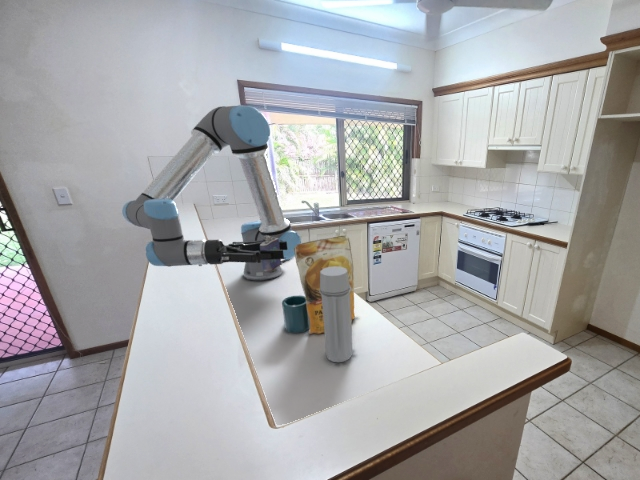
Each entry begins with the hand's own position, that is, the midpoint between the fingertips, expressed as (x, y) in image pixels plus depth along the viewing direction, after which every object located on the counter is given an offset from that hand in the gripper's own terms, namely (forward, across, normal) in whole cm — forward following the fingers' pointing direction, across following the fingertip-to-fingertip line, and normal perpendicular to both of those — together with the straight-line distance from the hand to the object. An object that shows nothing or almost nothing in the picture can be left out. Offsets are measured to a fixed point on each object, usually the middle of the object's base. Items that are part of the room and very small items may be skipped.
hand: (285, 249), depth 104 cm
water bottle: (+15, +30, -22) cm, 40 cm away
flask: (-5, 0, -6) cm, 8 cm away
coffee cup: (+3, +11, -22) cm, 25 cm away
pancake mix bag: (+13, +11, -22) cm, 28 cm away
